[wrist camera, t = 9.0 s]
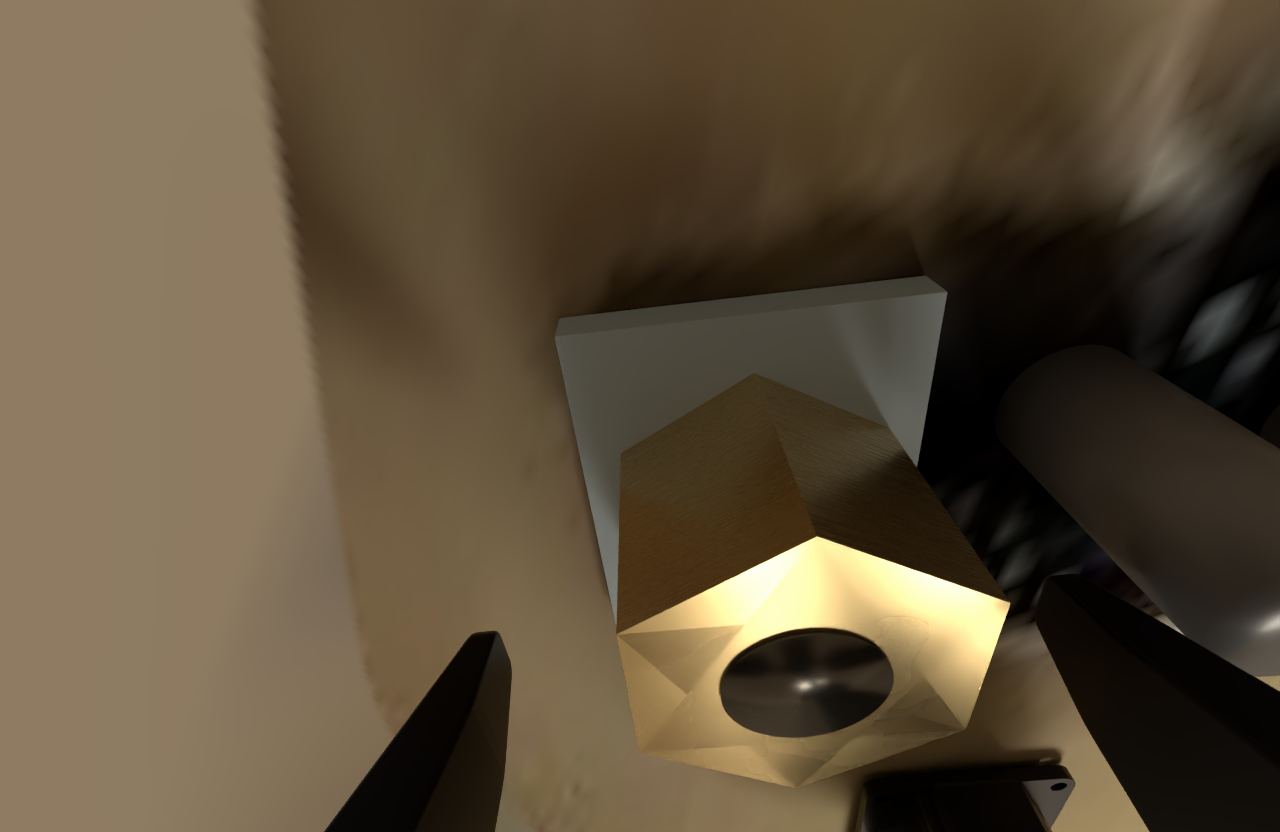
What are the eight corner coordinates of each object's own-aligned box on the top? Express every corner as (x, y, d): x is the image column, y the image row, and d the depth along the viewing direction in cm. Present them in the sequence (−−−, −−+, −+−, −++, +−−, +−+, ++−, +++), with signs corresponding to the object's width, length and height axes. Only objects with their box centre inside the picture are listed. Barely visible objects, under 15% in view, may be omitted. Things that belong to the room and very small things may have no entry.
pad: (878, 591, 14) (890, 618, 13) (620, 614, 14) (619, 641, 14) (925, 275, 10) (948, 291, 9) (559, 318, 10) (553, 336, 10)
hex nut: (865, 588, 13) (950, 782, 10) (643, 606, 13) (648, 802, 10) (900, 358, 10) (1043, 521, 6) (610, 387, 10) (601, 559, 7)
